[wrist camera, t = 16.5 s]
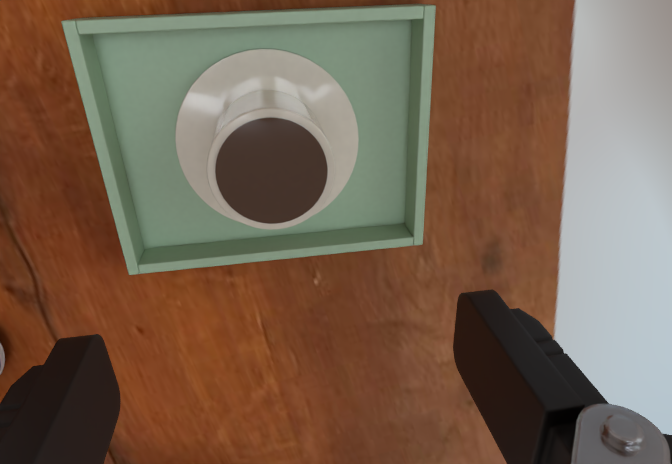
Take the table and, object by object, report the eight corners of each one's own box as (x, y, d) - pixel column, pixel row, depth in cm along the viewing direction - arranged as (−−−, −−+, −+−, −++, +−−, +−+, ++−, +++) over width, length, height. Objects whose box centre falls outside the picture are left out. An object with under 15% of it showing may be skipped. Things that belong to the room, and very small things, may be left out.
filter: (355, 43, 25) (377, 54, 21) (357, 214, 30) (376, 255, 25) (160, 52, 24) (137, 67, 20) (193, 230, 29) (181, 276, 24)
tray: (419, 3, 26) (436, 5, 23) (410, 226, 32) (423, 245, 29) (79, 17, 24) (60, 20, 21) (138, 253, 29) (128, 275, 27)
